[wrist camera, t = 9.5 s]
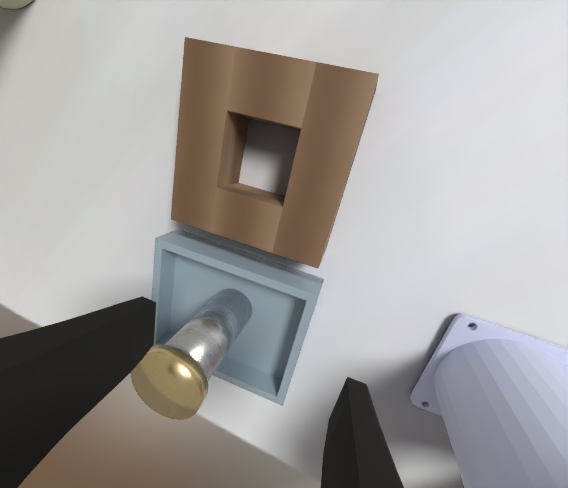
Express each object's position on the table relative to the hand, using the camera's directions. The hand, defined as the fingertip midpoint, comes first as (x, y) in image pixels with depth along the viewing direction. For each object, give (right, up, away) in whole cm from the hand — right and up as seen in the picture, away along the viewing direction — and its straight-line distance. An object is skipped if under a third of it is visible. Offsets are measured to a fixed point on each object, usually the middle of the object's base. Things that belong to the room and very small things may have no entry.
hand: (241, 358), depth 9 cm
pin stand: (+1, +10, +8) cm, 13 cm away
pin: (-2, -1, +12) cm, 12 cm away
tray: (-2, -1, +12) cm, 13 cm away
